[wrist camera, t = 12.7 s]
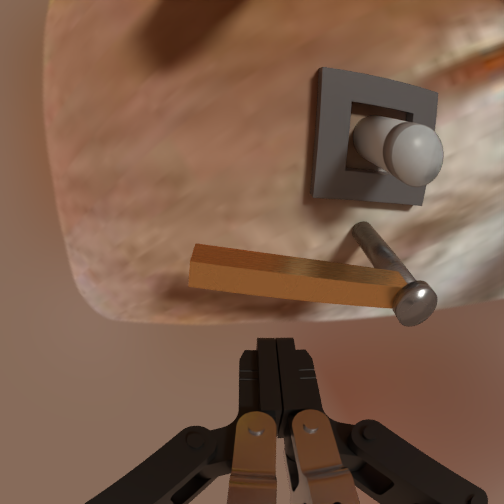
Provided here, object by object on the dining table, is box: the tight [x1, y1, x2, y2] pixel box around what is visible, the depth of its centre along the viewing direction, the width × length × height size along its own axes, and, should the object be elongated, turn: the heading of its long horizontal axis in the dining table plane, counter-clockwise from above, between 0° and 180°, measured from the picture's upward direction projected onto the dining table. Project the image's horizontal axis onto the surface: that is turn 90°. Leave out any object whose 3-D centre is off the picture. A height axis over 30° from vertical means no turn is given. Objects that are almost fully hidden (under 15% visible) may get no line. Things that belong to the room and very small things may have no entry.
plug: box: [353, 115, 444, 187], centre depth 24 cm, size 5×5×9 cm
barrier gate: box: [188, 222, 437, 326], centre depth 26 cm, size 4×19×14 cm, turn 80°
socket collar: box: [310, 67, 438, 206], centre depth 27 cm, size 13×13×2 cm
